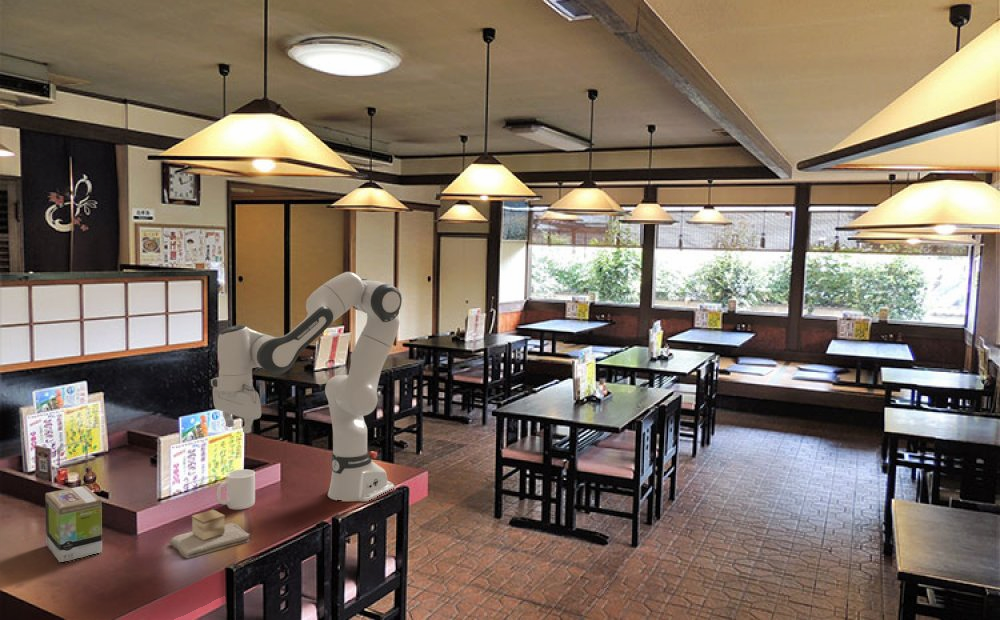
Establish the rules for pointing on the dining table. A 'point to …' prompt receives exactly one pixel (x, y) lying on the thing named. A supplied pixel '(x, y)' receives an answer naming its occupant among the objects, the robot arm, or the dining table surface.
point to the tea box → (73, 523)
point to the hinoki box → (208, 524)
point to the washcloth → (209, 541)
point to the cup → (239, 489)
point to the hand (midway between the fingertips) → (238, 429)
